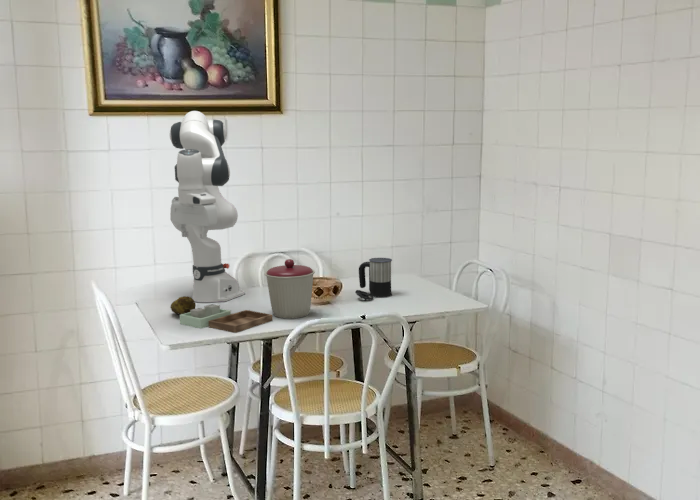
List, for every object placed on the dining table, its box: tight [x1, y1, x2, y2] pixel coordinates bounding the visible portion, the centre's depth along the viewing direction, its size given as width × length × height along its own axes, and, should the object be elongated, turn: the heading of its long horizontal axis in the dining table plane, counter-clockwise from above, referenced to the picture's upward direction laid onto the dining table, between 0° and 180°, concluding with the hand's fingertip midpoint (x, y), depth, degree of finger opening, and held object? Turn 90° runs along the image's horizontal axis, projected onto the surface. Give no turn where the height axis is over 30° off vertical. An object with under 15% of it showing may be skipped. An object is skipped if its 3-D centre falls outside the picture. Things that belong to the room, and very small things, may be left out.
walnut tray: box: [208, 309, 274, 334], centre depth 255 cm, size 18×13×3 cm
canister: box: [264, 258, 316, 320], centre depth 265 cm, size 18×18×21 cm
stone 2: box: [203, 303, 221, 317], centre depth 262 cm, size 4×4×5 cm
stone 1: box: [190, 307, 206, 318], centre depth 257 cm, size 4×4×5 cm
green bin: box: [179, 307, 232, 329], centre depth 259 cm, size 14×11×4 cm
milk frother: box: [355, 257, 393, 301], centre depth 292 cm, size 14×16×15 cm
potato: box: [170, 295, 197, 316], centre depth 270 cm, size 8×13×8 cm, turn 20°
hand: (194, 237), depth 252 cm, fingers open, 8 cm apart
